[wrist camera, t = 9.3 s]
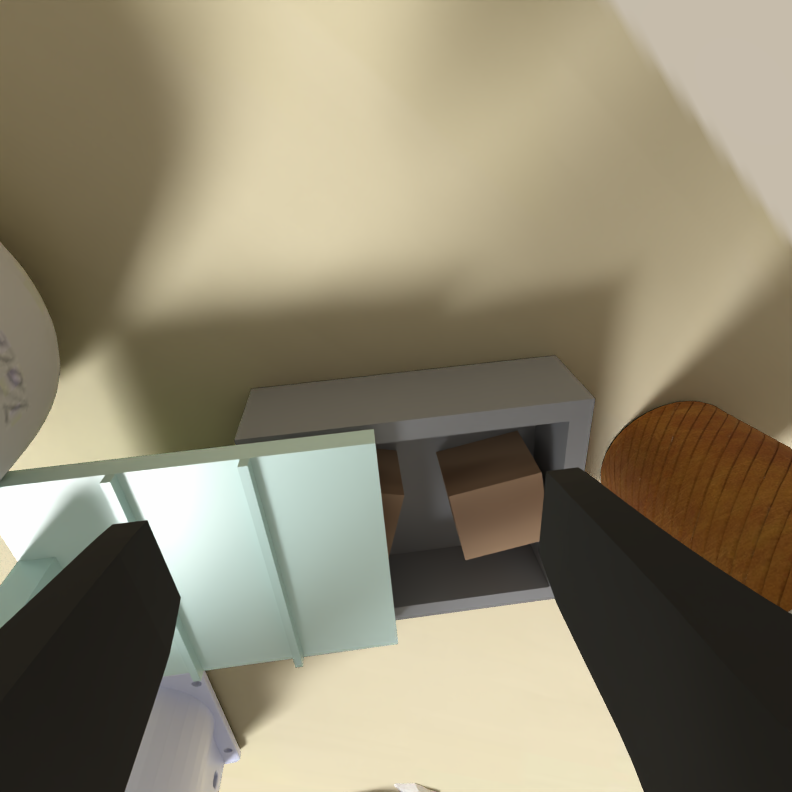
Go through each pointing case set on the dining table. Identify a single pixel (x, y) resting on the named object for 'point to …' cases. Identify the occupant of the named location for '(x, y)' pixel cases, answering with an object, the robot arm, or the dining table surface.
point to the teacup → (23, 361)
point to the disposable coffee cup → (711, 490)
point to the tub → (420, 472)
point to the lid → (226, 543)
